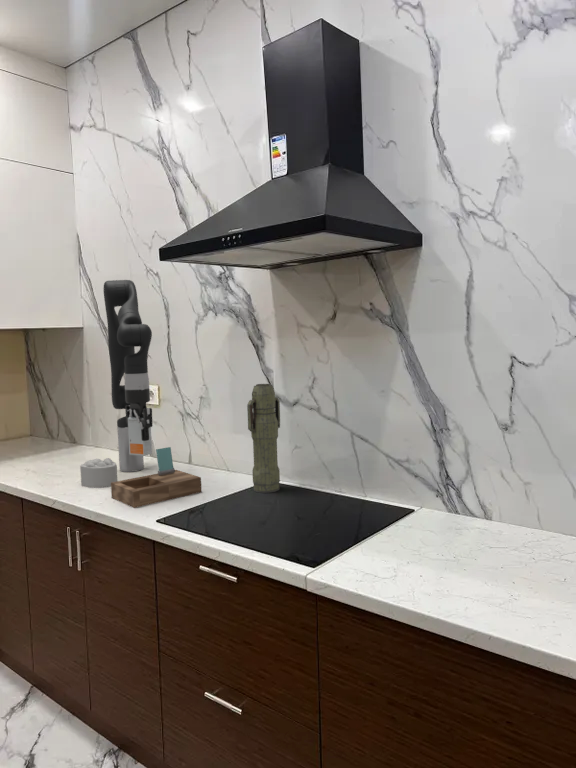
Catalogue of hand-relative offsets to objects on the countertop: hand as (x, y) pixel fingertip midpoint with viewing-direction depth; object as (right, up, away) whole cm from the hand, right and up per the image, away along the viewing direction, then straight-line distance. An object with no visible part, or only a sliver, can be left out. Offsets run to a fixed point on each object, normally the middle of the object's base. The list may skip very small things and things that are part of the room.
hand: (139, 438), depth 185 cm
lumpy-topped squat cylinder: (-19, -18, +22) cm, 34 cm away
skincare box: (0, -5, +1) cm, 5 cm away
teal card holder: (+6, -8, +11) cm, 15 cm away
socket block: (+4, -19, +5) cm, 20 cm away
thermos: (+40, -18, +8) cm, 44 cm away
